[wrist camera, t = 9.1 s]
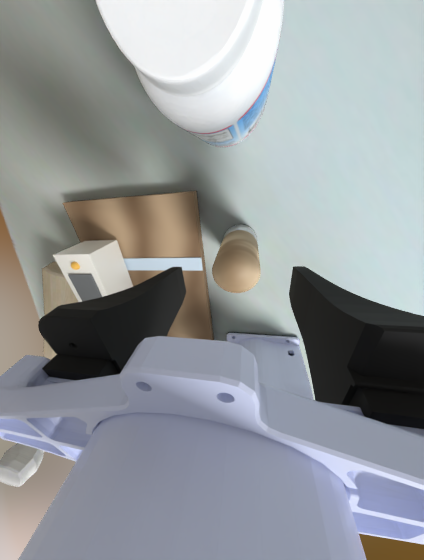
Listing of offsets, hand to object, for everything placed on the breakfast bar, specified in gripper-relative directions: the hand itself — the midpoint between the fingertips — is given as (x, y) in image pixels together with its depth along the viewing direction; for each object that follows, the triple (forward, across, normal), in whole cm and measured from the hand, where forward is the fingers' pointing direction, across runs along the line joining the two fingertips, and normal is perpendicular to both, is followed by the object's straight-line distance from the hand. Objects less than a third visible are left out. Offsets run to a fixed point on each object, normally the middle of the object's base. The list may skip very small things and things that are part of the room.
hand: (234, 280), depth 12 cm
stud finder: (+7, +15, +2) cm, 17 cm away
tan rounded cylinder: (+8, 0, 0) cm, 8 cm away
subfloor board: (+8, +11, +5) cm, 15 cm away
